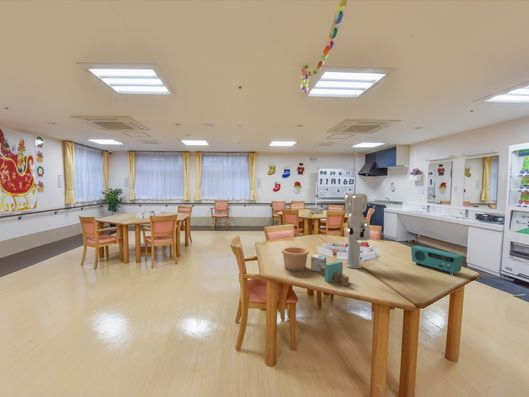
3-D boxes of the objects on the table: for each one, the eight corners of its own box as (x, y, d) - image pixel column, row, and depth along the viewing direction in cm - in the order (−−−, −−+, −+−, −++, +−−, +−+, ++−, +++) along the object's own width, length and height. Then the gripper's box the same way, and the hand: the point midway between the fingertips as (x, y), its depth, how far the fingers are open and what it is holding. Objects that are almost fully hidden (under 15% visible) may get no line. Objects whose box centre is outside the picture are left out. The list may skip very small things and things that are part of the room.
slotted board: (320, 274, 178) (320, 266, 178) (323, 274, 180) (323, 266, 179) (345, 286, 157) (345, 277, 157) (348, 285, 159) (348, 276, 159)
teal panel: (327, 282, 164) (328, 265, 163) (324, 280, 167) (325, 264, 166) (342, 278, 171) (342, 262, 170) (339, 277, 173) (339, 261, 173)
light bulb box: (326, 269, 189) (326, 256, 188) (324, 272, 183) (324, 258, 182) (313, 267, 194) (313, 254, 194) (310, 270, 188) (310, 256, 188)
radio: (409, 263, 205) (410, 246, 205) (416, 262, 210) (417, 245, 209) (455, 277, 175) (456, 257, 174) (462, 275, 180) (463, 255, 179)
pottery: (306, 274, 180) (306, 255, 179) (278, 270, 187) (278, 252, 186) (310, 265, 200) (310, 248, 199) (284, 262, 207) (285, 245, 207)
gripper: (344, 211, 181) (343, 234, 182) (363, 214, 165) (362, 239, 167) (351, 211, 184) (350, 233, 185) (370, 213, 169) (369, 237, 170)
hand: (356, 235), depth 176 cm, fingers open, 9 cm apart
